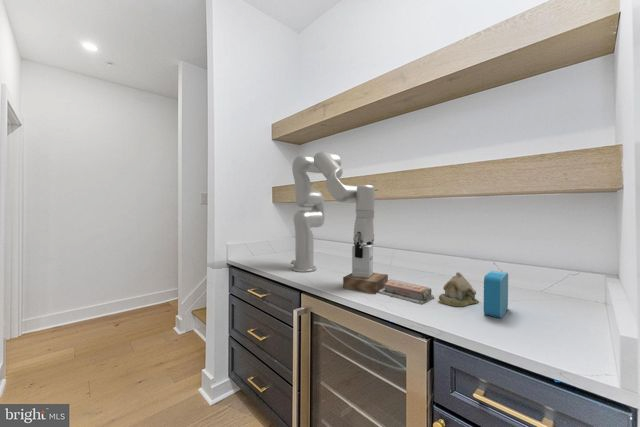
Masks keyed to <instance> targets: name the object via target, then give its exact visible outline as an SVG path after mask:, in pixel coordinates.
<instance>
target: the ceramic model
mask: <svg viewBox="0 0 640 427" xmlns="http://www.w3.org/2000/svg"><path fill="white" fill-rule="evenodd" d="M442 289H443V291H444V293H441V294H440V295H439V296H438V300H439V302H440V303H441V304H444V305H449V306H453V307H466V306H468V305H471V304H472V305H473V304H478V303H480V301H479V300H478V299H477V298H476V295H477V291H476V290H475V289H474V288H473V286H472V284H471V283H470V282H469V280H467V279H466V278H465V276H464V275H463V274H462V273H461V272H456V273H455V275H454V276H452V277H451V279H450V280H449V281H447V282H446V283H445V284H444V286H443V288H442Z"/></svg>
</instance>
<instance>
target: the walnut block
mask: <svg viewBox="0 0 640 427" xmlns="http://www.w3.org/2000/svg"><path fill="white" fill-rule="evenodd" d="M388 280H389V275H388V274H385V273H379V272H378V273H377V272H373V274H372V275H371V276H370V277H369V278H364V277H354V276H352V272H351V273H349V274H346V275H345V276H343V277H342V283H343V284H342V285H343V286H342V289H347V290H352V291H358V292H364V293H369V294H375V295H377V294H379V293H378V291H379V290H381V289H384V284H385V283H386V282H387V281H388Z"/></svg>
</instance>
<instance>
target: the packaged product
mask: <svg viewBox="0 0 640 427" xmlns="http://www.w3.org/2000/svg"><path fill="white" fill-rule="evenodd" d="M377 294H381V295H386V296H389V297H394V298H396V299H400V300H403V301H408V302H412V303H415V304H419V305H424V304H425V303H428V302H429V301H431V300H434V299H435V295H434V294H432V288H431V287H427V286H423V285H419V284H415V283H411V282H405V281H402V280H401V281H400V280H396V279H388V281H387V282H386V283H385V284H384V288H383V289H381V290H379V291H378V293H377Z"/></svg>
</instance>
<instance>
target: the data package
mask: <svg viewBox="0 0 640 427" xmlns="http://www.w3.org/2000/svg"><path fill="white" fill-rule="evenodd" d="M508 308H509V273H508V272H506V271H498V270H490V271H489V272H488V273H486V275H484V278H483V314H484V315H486V316H491V317H494V318H497V319H498V318H499V319H502V318H503V316H504V315H505V314H506V311H508Z"/></svg>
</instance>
